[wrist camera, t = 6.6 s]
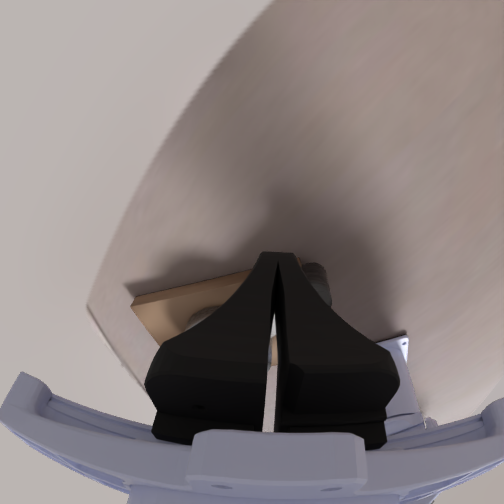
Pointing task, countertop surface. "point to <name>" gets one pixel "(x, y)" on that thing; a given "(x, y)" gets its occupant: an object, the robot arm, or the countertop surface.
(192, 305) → the wooden board
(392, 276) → the countertop surface
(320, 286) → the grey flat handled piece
